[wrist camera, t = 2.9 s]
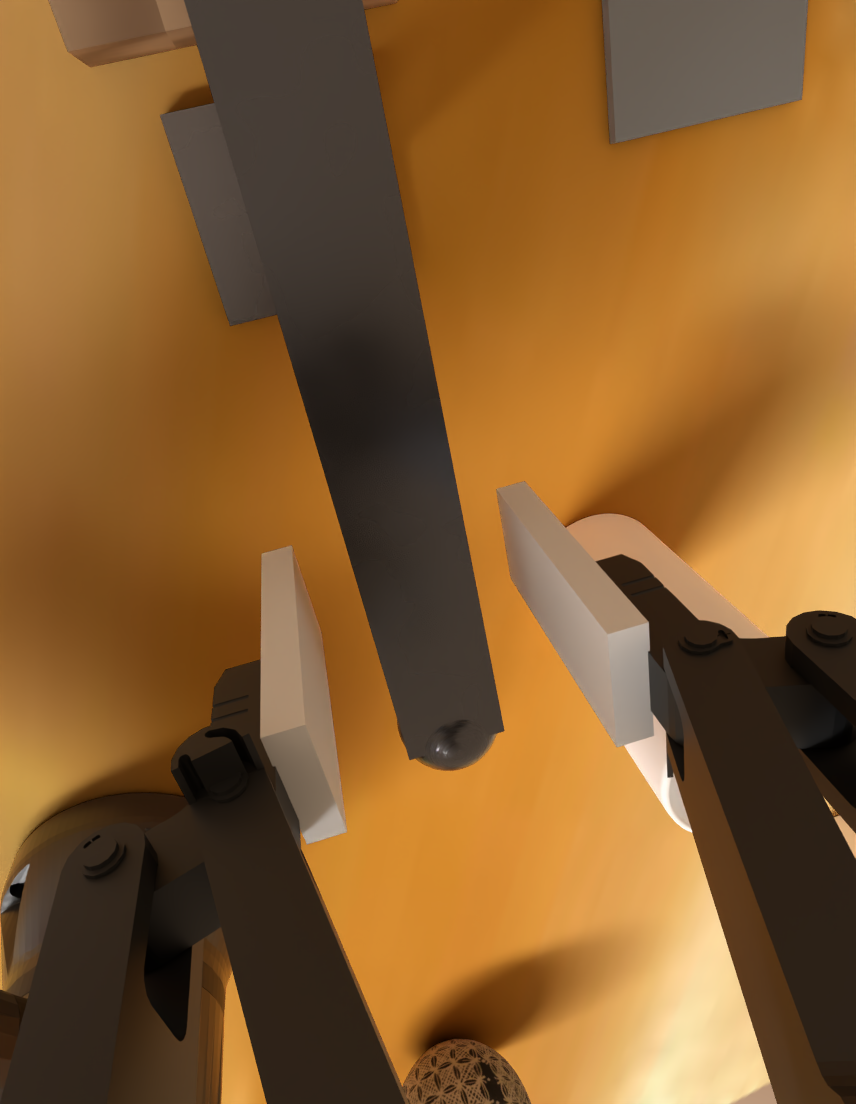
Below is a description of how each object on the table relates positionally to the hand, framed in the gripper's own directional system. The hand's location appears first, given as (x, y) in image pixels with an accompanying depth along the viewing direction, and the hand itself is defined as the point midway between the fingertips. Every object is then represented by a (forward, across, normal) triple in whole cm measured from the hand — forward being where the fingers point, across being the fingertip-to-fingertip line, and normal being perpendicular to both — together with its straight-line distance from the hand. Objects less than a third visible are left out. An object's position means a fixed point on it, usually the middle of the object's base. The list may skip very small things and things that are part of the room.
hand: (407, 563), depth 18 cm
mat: (+18, +19, +12) cm, 29 cm away
